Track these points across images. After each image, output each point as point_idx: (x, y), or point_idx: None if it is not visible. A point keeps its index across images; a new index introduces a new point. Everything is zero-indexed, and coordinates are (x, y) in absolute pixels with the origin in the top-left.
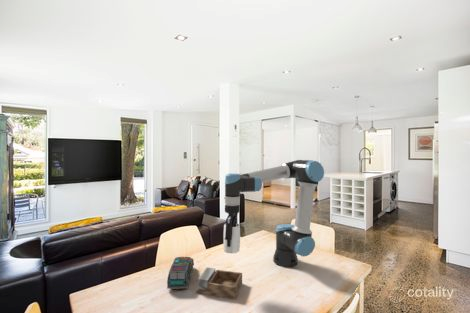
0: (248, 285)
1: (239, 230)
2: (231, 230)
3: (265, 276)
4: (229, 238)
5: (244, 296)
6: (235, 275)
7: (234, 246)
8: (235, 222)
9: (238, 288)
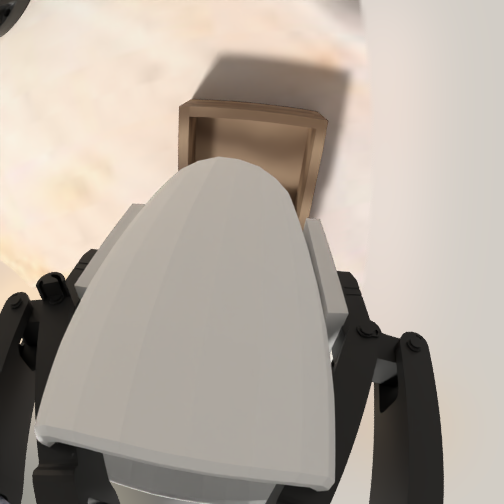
0: (203, 69)
1: (199, 336)
2: (350, 439)
3: (114, 16)
4: (425, 355)
5: (293, 77)
6: (191, 136)
7: (300, 228)
8: (80, 483)
9: (266, 106)
